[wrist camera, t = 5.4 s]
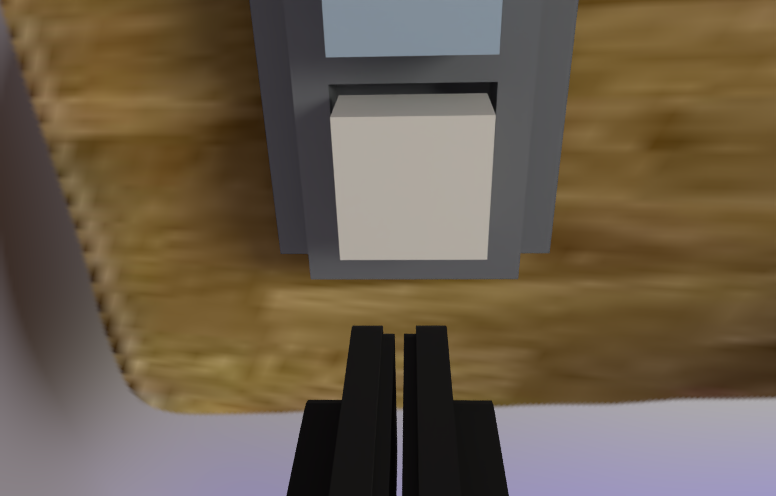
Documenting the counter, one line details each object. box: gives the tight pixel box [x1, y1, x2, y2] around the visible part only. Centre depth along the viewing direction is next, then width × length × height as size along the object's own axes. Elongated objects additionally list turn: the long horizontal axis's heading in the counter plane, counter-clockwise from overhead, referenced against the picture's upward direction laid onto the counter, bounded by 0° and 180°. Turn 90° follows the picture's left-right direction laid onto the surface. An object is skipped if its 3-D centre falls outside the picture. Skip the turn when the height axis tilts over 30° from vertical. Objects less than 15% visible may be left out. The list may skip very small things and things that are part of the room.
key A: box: [330, 93, 496, 260], centre depth 20 cm, size 5×5×2 cm
